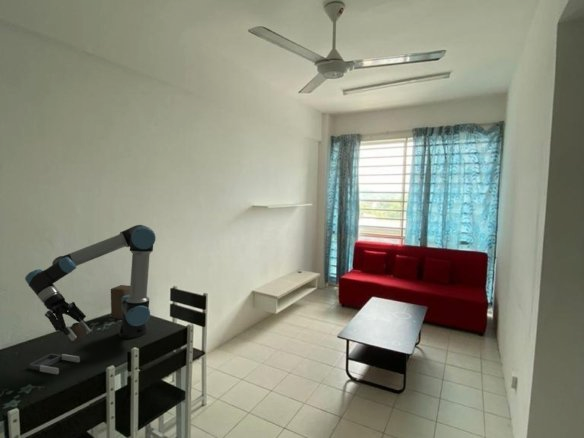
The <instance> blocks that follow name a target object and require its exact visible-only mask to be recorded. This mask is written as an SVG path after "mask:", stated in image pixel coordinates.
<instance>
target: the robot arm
mask: <svg viewBox="0 0 584 438" xmlns="http://www.w3.org/2000/svg"><path fill="white" fill-rule="evenodd" d="M156 239H157V238H156V234H155V231H154V230H153V229H152V228H150V227H148V226H146V225H143V224H136V225H134V226H131V227H128V228H126V229H124V230H123V231H119V233H118V234H117V235H114V236H111V237H108V238H106V239H105V240H101V241H99V242H96V243H94V244H91V245H88V246H85V247H83V248H80V249H78V250H76V251H75V250H74V251H72V252H71V253H68V254H65V255H60V256H57V257H55V258H54V259H53V261H52V264H51V266H49V267H47V268H46V269H44V270H42V268H41V269H40V268H39V269H34V270H32V271H30V272H28V273H27V274H26V276H25V277H24V279H25V282H26V283H27V284H28V287H29V288H30V289H32V291H33V292H34V293H35V295H36V296H37V298H38V299H40V301H41V302H42V303H43V305H44V307H45V308H46V309H47V311H46V312H45V313H44V317H46V318H47V319H48V320H49V322H50V323H51V325H52V327H53V329H54V330H55V331H56V332H58V331H59V332H63V334H64V335H65V336H67V335H68V337H69V338H70V339H71V340H72V341H74V339H75V338H76V337H77V336H76V335H75V334H74V333H73V331H72V330H71V329H70V328H71V326H69V325H66V321H65V319H64V315H66V316H69V317H70V318H72V319H73V320H75V321H76V323H79V324H80V325H81V326H82V327H83V328H84V330H85V335H88V334H89V332H91V328H90V327H89V326H88V323H87V322H86V320H85V319H86V317H87V315H85V313H84V312H83V311H82V310H81V309H80V308H79V307H78V306H77V305H76V303H75V301H71V302H70V303H68V302H67V301H66V300H65V299H66V298H65V297H64V296H63V294H62V293H61V292H60V291H59V290H58V288H57V287H56V285H54V284H55V283H57V282H58V281H59V280H61V279H63V278H64V277H65V276H67V275H69V274H71V273H72V272H73V271H75V270H76V269H77V267H78V266H79V265H80V266H81V265H82V264H85V263H87V262H90V261H92V260H94V259H97V258H100V257H103V256H105V255H107V254H110V253H113V252H115V251H117V250H119V249H122V248H129V251H130V252H131V255H132V256H131V258H132V259H131V270H130V271H131V272H130V273H131V274H130V283H129V284H130V285H129V286H130V295H125V296H123V297H122V301H121V302H122V319H121V325H120V328H119V330H118V336H119V337H120V338H122V339H135V338H138V337H141V336H144V335H145V334H147V333H148V325H147V322H148V321H149V319H150V317H151V310H150V298H149V297H148V295H147V294H148V284H149V283H148V280H149V267H150V257H151V256H150V255H151V253H152V252H153V250H154V245H155V242H156Z"/></svg>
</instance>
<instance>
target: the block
mask: <svg viewBox="0 0 584 438" xmlns="http://www.w3.org/2000/svg"><path fill="white" fill-rule="evenodd" d="M125 295H130V285H127V284H126V285H124V284H121V285H117V286H115V287H112V288H111V289H110V310H111V311H110V313H111V315H110V316H111V319H112V318H113V319H119V318H120V319H121V320H122V302H121V301H122V297H123V296H125Z"/></svg>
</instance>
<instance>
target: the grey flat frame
mask: <svg viewBox="0 0 584 438" xmlns="http://www.w3.org/2000/svg"><path fill="white" fill-rule="evenodd" d="M59 361H63V360H62V354H58V353H57V354H56V353H49V354H46V355H45V356H42V357H41V358H39V359H36V360H35V361H33V362H31V363H29V364H27V366H28V367H27V370H34V371H39V372H41V371H40V366H41V365H43V366H49V367H51V366H53V365H54V364H56V363H58V362H59Z"/></svg>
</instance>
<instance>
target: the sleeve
mask: <svg viewBox="0 0 584 438" xmlns="http://www.w3.org/2000/svg"><path fill="white" fill-rule="evenodd" d="M61 355H62V360H61V361H69V362H74V363H80V362H81V358H80V356H78V355H72V354H66V353H63V354H61ZM39 372H42V373H47V374H53V375H58V374H60V368H59V367H54V366H43V365H41V366H40V371H39Z"/></svg>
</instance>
